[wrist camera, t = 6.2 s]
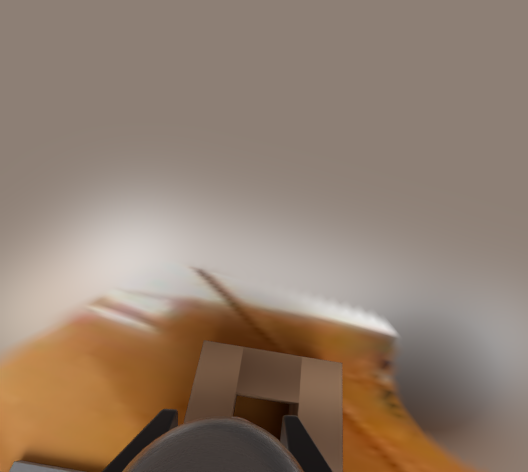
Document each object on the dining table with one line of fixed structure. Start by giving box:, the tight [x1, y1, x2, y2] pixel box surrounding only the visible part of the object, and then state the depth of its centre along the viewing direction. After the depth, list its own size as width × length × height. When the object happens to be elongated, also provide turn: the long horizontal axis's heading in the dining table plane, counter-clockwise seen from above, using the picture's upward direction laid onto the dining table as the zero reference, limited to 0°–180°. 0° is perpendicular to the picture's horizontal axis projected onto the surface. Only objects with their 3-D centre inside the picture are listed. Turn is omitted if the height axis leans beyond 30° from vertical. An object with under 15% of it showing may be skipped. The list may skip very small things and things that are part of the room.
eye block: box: [183, 340, 343, 472], centre depth 17 cm, size 9×9×4 cm
